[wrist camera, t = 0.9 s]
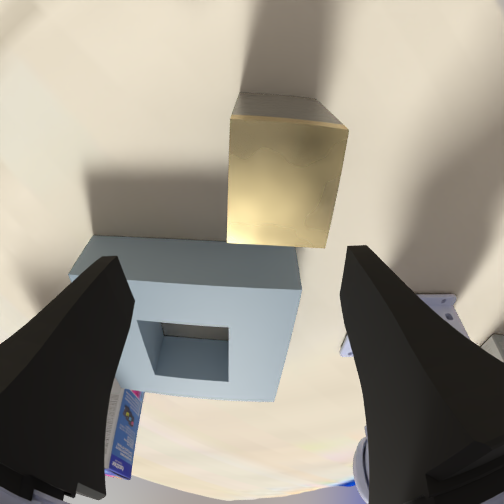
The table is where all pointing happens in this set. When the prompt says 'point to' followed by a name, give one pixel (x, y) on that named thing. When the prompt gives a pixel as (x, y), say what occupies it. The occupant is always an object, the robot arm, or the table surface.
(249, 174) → the two-tone metal cube
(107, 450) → the ink cartridge box
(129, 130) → the table surface
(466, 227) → the table surface
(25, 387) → the robot arm
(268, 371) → the well block
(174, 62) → the table surface
